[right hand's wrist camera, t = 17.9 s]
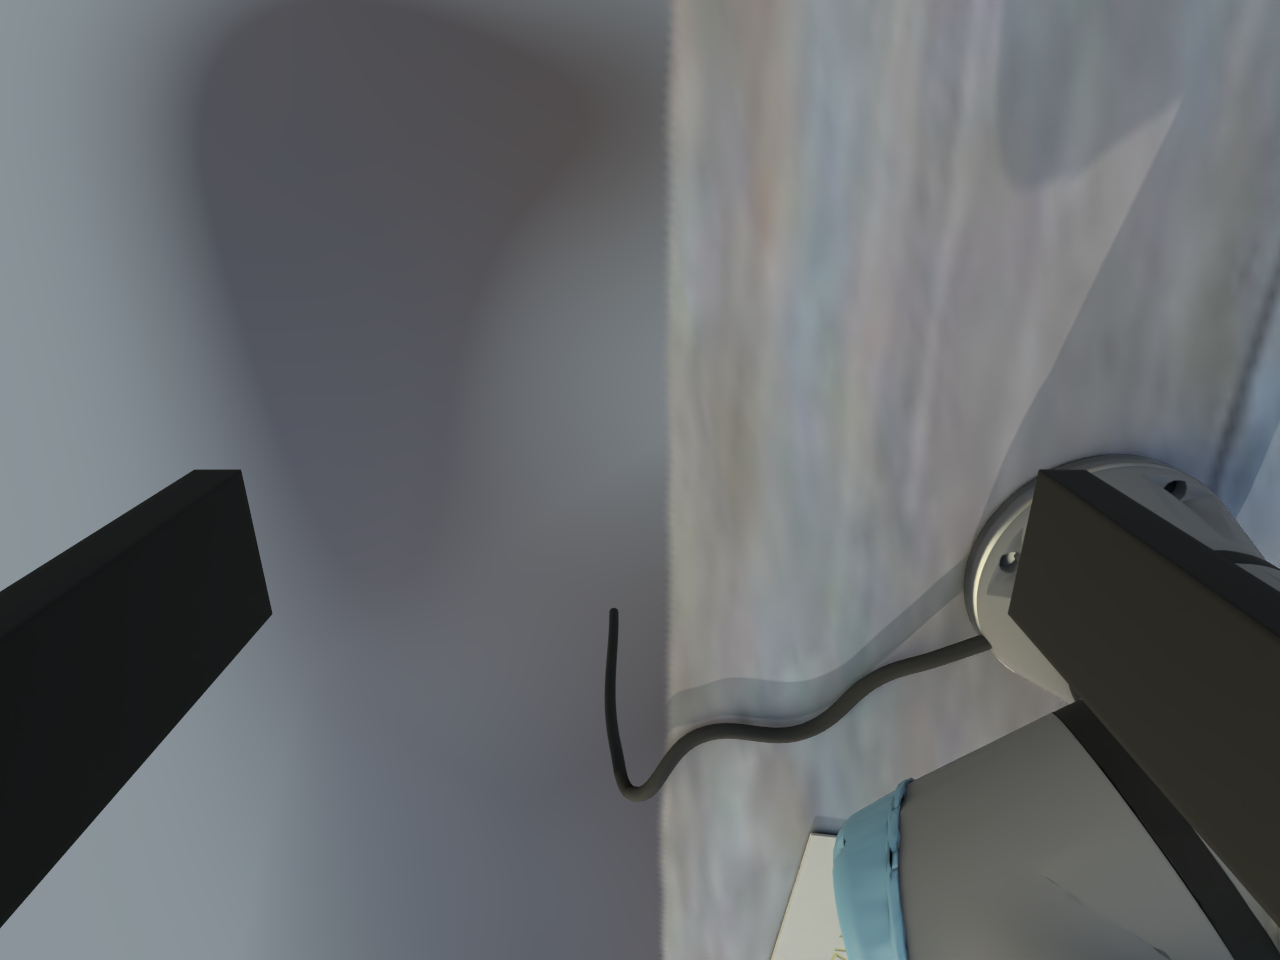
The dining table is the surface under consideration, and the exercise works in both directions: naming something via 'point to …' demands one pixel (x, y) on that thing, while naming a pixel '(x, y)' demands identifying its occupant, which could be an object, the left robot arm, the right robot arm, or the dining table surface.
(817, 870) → the invitation card
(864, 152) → the dining table surface
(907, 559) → the dining table surface
